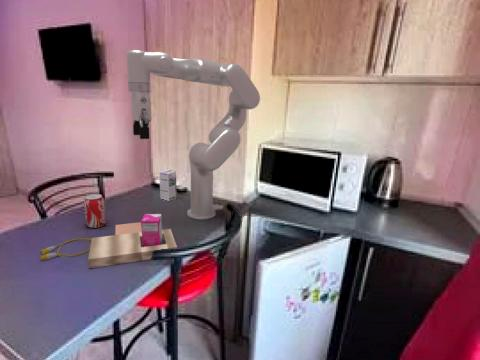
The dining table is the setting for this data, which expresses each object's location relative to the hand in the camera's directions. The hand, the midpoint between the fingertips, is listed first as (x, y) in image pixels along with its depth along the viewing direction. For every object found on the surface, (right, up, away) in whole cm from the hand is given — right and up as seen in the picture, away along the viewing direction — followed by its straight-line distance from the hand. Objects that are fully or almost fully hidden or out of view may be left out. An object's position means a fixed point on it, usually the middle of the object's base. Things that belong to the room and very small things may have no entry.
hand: (141, 136), depth 109 cm
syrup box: (+1, -26, +38) cm, 46 cm away
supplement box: (+7, -39, -8) cm, 41 cm away
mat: (-3, -35, +3) cm, 36 cm away
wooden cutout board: (+1, -39, -10) cm, 41 cm away
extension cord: (-20, -39, -11) cm, 46 cm away
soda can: (-20, -34, +6) cm, 40 cm away
